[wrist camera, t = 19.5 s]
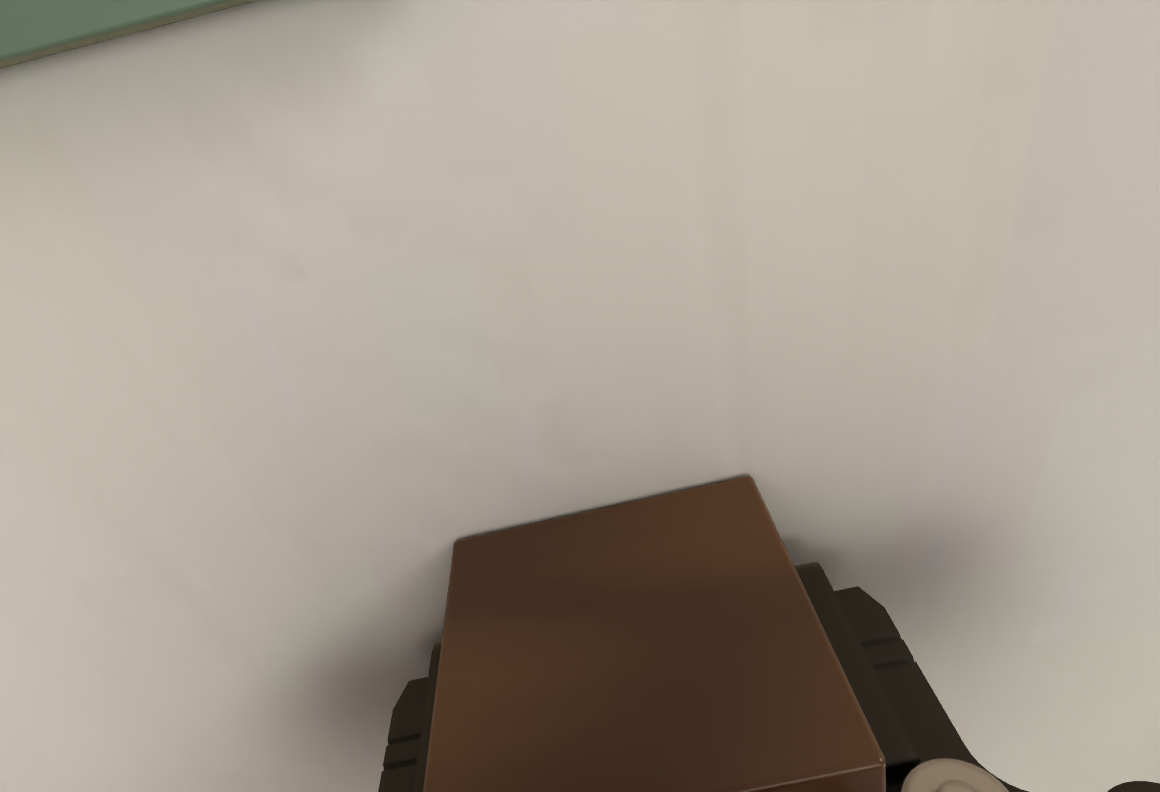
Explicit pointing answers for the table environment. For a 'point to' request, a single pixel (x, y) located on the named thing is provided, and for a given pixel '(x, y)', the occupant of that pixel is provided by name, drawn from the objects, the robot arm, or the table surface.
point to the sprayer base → (86, 22)
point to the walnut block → (643, 659)
